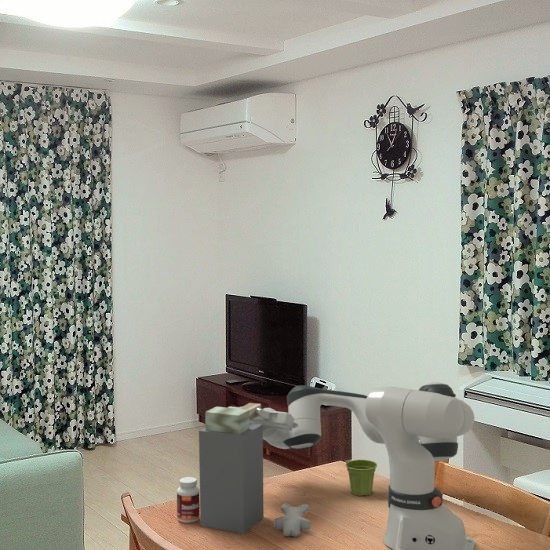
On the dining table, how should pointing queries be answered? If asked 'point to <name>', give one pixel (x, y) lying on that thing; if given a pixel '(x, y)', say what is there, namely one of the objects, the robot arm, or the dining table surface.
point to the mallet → (230, 418)
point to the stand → (231, 479)
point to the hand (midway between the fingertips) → (249, 410)
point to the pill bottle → (188, 500)
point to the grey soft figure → (293, 520)
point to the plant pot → (361, 476)
